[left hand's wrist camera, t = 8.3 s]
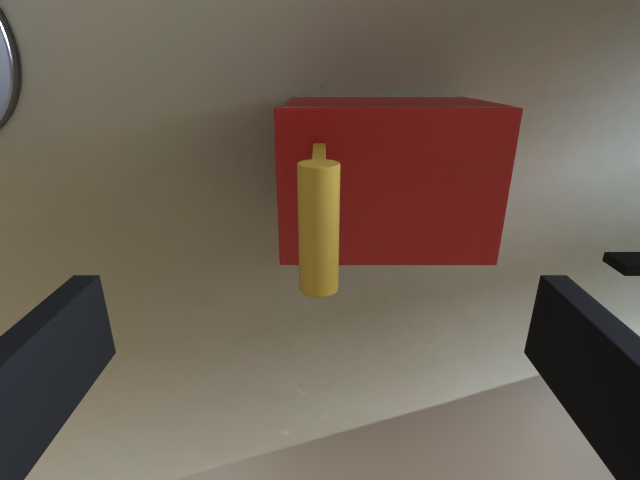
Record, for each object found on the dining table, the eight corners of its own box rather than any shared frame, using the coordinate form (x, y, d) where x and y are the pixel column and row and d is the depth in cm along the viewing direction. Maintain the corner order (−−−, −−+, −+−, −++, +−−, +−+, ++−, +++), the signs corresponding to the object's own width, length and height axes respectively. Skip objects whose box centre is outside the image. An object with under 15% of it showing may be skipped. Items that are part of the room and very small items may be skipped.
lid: (281, 257, 29) (266, 330, 21) (276, 106, 25) (254, 123, 17) (489, 257, 29) (555, 330, 21) (513, 106, 25) (605, 123, 17)
